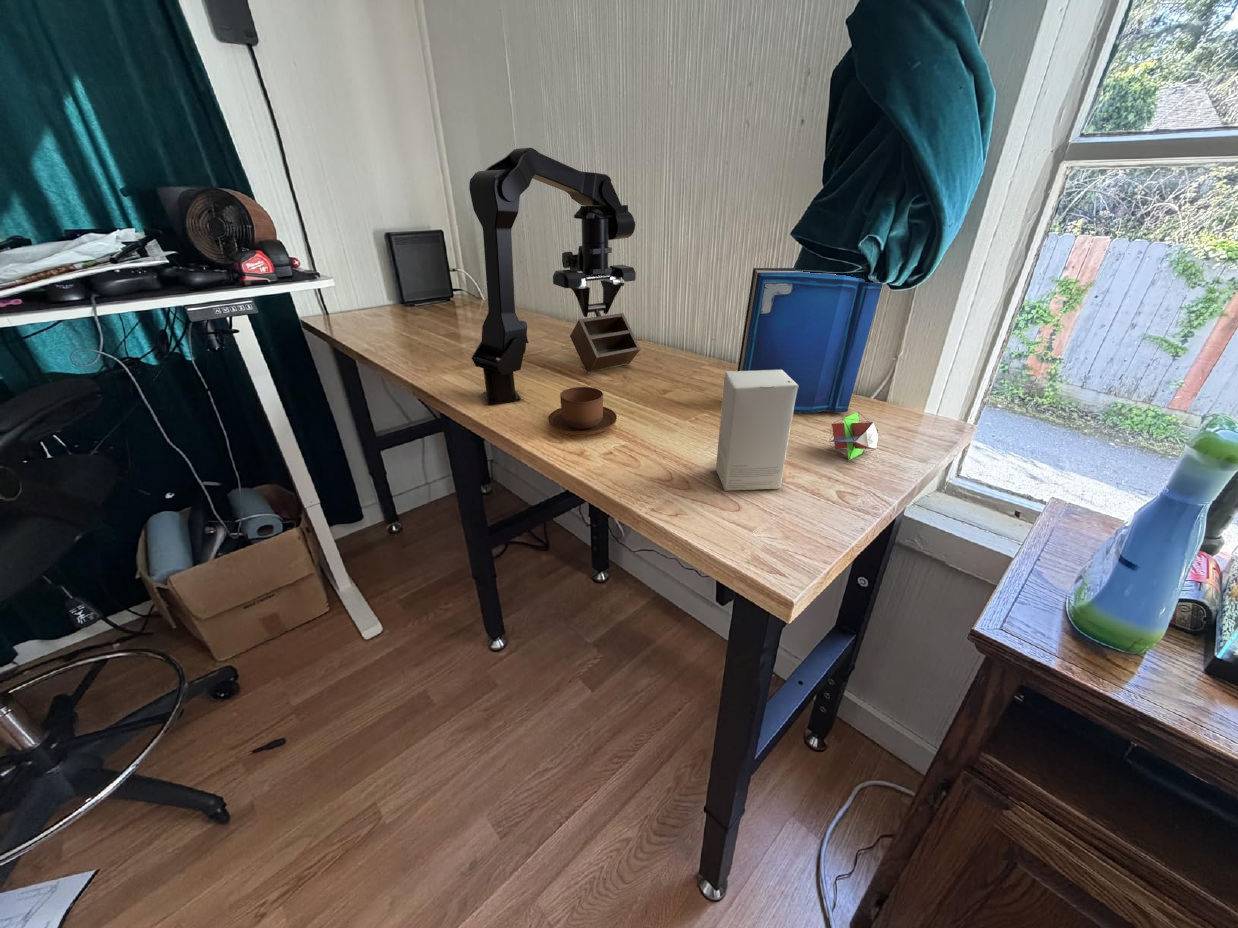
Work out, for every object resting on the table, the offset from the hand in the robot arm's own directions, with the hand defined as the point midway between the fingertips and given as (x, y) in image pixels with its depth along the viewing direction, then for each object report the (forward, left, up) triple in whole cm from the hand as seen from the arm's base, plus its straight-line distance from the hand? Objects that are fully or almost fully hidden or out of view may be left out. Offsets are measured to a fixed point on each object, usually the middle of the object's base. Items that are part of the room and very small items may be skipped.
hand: (595, 315), depth 114 cm
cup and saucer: (-33, +16, -12) cm, 39 cm away
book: (-41, -24, -12) cm, 49 cm away
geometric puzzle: (-60, -19, -12) cm, 64 cm away
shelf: (0, 0, -6) cm, 6 cm away
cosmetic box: (-60, +1, -12) cm, 61 cm away
